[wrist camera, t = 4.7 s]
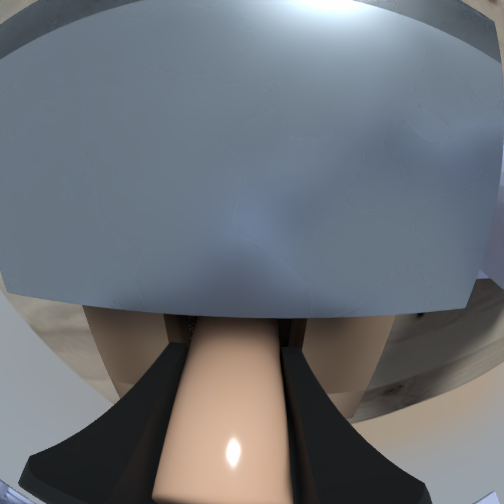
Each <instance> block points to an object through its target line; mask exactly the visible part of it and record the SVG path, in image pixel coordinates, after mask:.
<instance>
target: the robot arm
mask: <svg viewBox="0 0 504 504" xmlns="http://www.w3.org/2000/svg"><path fill="white" fill-rule="evenodd" d="M485 278H490V279H492V280H493V281H494V282H495V283H496V284H497V285H498V286H500V287H501V288H502V289H503V290H504V146H503V159H502V168H501V177H500V184H499V190H498V196H497V202H496V207H495V212H494V217H493V222H492V226H491V230H490V234H489V238H488V242H487V246H486V249H485V253H484V256H483V259H482V263H481V266H480V269H479V272H478V275H477V278H476V279H485ZM187 352H188V349H187V343H175V342H170V343H169V344H168V345H167V346H166V348H165V349H164V350H163V352H162V353H161V354H160V355H159V357H158V358H157V359H156V360H155V362H154V363H153V364H152V365H151V367H150V368H149V369H148V370H147V371H146V372H145V374H144V375H143V376H142V377H141V378H140V379H139V380H138V382H137V383H136V384H135V385H134V386H133V387H132V388H131V389H130V390H129V391H128V392H127V393H126V394H125V395H124V396H123V397H122V398H121V399H120V400H119V401H118V402H117V403H116V404H115V405H114V406H112V407H111V408H110V409H109V410H108V411H107V412H105V413H104V414H103V415H102V416H101V417H99V418H98V419H97V420H95V421H94V422H93V423H91V424H90V425H88V426H87V427H86V428H84V429H83V430H81V431H80V432H78V433H76V434H75V435H73V436H71V437H70V438H68V439H66V440H64V441H62V442H61V443H59V444H57V445H55V446H53V447H51V448H48V449H46V450H44V451H41V452H39V453H37V454H34V455H32V456H30V457H29V459H28V461H27V463H26V465H25V468H24V470H23V473H22V475H21V477H20V480H19V482H18V484H19V486H20V487H22V488H23V489H24V490H26V491H27V492H29V493H30V494H32V495H33V496H35V497H37V498H38V499H40V500H41V501H43V502H45V503H46V504H158V503H156V502H155V501H154V500H153V499H152V493H153V488H154V484H155V479H156V475H157V470H158V466H159V461H160V457H161V453H162V449H163V444H164V440H165V436H166V432H167V428H168V424H169V420H170V416H171V412H172V408H173V404H174V400H175V396H176V393H177V389H178V385H179V381H180V377H181V374H182V370H183V366H184V363H185V359H186V355H187ZM281 363H282V372H283V382H284V393H285V403H286V414H287V425H288V437H289V448H290V460H291V473H292V486H293V499H294V504H432V501H431V498H430V494H429V492H428V490H427V488H426V486H425V483H423V482H422V481H420V480H418V479H416V478H415V477H413V476H411V475H410V474H408V473H406V472H405V471H403V470H402V469H400V468H399V467H398V466H396V465H395V464H393V463H392V462H391V461H389V460H388V459H387V458H386V457H384V456H383V455H382V454H381V453H380V452H378V451H377V450H376V449H375V448H374V447H373V446H372V445H370V444H369V443H368V442H367V441H366V440H365V439H364V438H363V437H362V436H361V435H360V434H359V433H358V432H357V431H356V430H355V429H354V428H353V427H352V425H351V424H350V423H349V422H348V421H347V420H346V419H345V417H344V416H343V415H342V414H341V413H340V411H339V410H338V409H337V407H336V406H335V405H334V403H333V402H332V401H331V399H330V398H329V397H328V395H327V394H326V392H325V391H324V389H323V388H322V386H321V385H320V383H319V381H318V380H317V378H316V377H315V375H314V373H313V371H312V370H311V368H310V366H309V364H308V362H307V360H306V359H305V357H304V354H303V352H302V350H301V349H300V348H299V347H282V348H281ZM0 504H36V503H34V502H32V501H31V500H29V499H28V498H27V497H25V496H23V495H22V494H21V493H19V492H18V491H16V490H15V489H13V488H12V487H10V486H9V485H7V484H6V483H5V482H3V481H2V480H0ZM473 504H499V501H498V498H497V495H496V492H495V491H492V492H491V493H489V494H488V495H486V496H485V497H483V498H481V499H480V500H478V501H477V502H475V503H473Z"/></svg>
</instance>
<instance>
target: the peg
mask: <svg viewBox="0 0 504 504" xmlns="http://www.w3.org/2000/svg"><path fill="white" fill-rule="evenodd" d="M152 499H153V500H154V501H155V502H156V503H158V504H294V499H293V486H292V473H291V460H290V448H289V437H288V425H287V414H286V403H285V393H284V382H283V372H282V363H281V352H280V343H279V333H278V324H277V318H241V317H214V316H198V317H197V320H196V324H195V327H194V331H193V334H192V338H191V341H190V345H189V348H188V352H187V355H186V359H185V363H184V366H183V370H182V374H181V377H180V381H179V385H178V389H177V393H176V396H175V400H174V404H173V408H172V412H171V416H170V420H169V424H168V428H167V432H166V436H165V440H164V444H163V449H162V453H161V457H160V461H159V466H158V470H157V475H156V479H155V484H154V488H153V493H152Z"/></svg>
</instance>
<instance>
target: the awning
mask: <svg viewBox="0 0 504 504" xmlns="http://www.w3.org/2000/svg"><path fill="white" fill-rule="evenodd" d="M503 146H504V85H503V73H502V64H501V56H500V50H499V43H498V38H497V33H496V28H495V23H494V21H492V20H491V19H489V18H488V17H486V16H485V15H483V14H482V13H480V12H479V11H477V10H476V9H474V8H472V7H471V6H469V5H467V4H466V3H464V2H462V1H460V0H38V1H36V2H35V3H33V4H31V5H30V6H28V7H26V8H25V9H23V10H21V11H20V12H18V13H17V14H15V15H14V16H12V17H11V18H9V19H8V20H6V21H5V22H3V23H2V24H1V25H0V272H1V275H2V278H3V281H4V284H5V286H6V289H7V292H8V293H12V294H17V295H23V296H28V297H34V298H40V299H46V300H52V301H59V302H65V303H72V304H79V305H87V306H95V307H103V308H112V309H121V310H131V311H141V312H152V313H165V314H179V315H195V316H214V317H241V318H337V317H363V316H382V315H397V314H410V313H422V312H433V311H443V310H452V309H461V308H465V307H466V305H467V302H468V300H469V297H470V294H471V292H472V289H473V286H474V284H475V281H476V278H477V275H478V272H479V269H480V266H481V263H482V259H483V256H484V253H485V249H486V246H487V242H488V238H489V234H490V230H491V226H492V222H493V217H494V212H495V207H496V202H497V196H498V190H499V184H500V177H501V168H502V159H503Z"/></svg>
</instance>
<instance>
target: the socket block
mask: <svg viewBox="0 0 504 504" xmlns="http://www.w3.org/2000/svg"><path fill="white" fill-rule="evenodd" d="M82 306H83V309H84V312H85V315H86V318H87V321H88V324H89V327H90V329H91V332H92V335H93V337H94V340H95V343H96V345H97V348H98V350H99V353H100V355H101V358H102V360H103V362H104V365H105V367H106V369H107V371H108V374H109V376H110V378H111V380H112V382H113V385H114V387H115V389H116V391H117V393H118V395H119V397H120V399H121V398H122V397H123V396H124V395H125V394H126V393H127V392H128V391H129V390H130V389H131V388H132V387H133V386H134V385H135V384H136V383H137V382H138V380H139V379H140V378H141V377H142V376H143V375H144V374H145V372H146V371H147V370H148V369H149V368H150V367H151V365H152V364H153V363H154V362H155V360H156V359H157V358H158V357H159V355H160V354H161V353H162V352H163V350H164V349H165V348H166V346H167V345H168V344H169V343H170V342H175V343H187V349H188V348H189V345H190V337H189V330H188V323H187V315H179V314H165V313H152V312H141V311H131V310H121V309H112V308H103V307H95V306H87V305H82ZM395 317H396V315H382V316H363V317H337V318H292V321H291V329H290V336H289V344H288V347H299V348H300V349H301V350H302V352H303V354H304V357H305V359H306V360H307V362H308V364H309V366H310V368H311V370H312V371H313V373H314V375H315V377H316V378H317V380H318V381H319V383H320V385H321V386H322V388H323V389H324V391H325V392H326V394H327V395H328V397H329V398H330V399H331V401H332V402H333V403H334V405H335V406H336V407H337V409H338V410H339V411H340V413H341V414H342V415H343V416H344V417H345V419H348V418H352V417H353V415H354V413H355V411H356V409H357V407H358V405H359V403H360V401H361V399H362V397H363V395H364V393H365V391H366V389H367V387H368V385H369V382H370V380H371V378H372V376H373V374H374V371H375V369H376V367H377V364H378V362H379V359H380V357H381V355H382V352H383V350H384V347H385V345H386V342H387V339H388V337H389V334H390V331H391V329H392V326H393V323H394V320H395ZM280 352H281V351H280Z"/></svg>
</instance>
